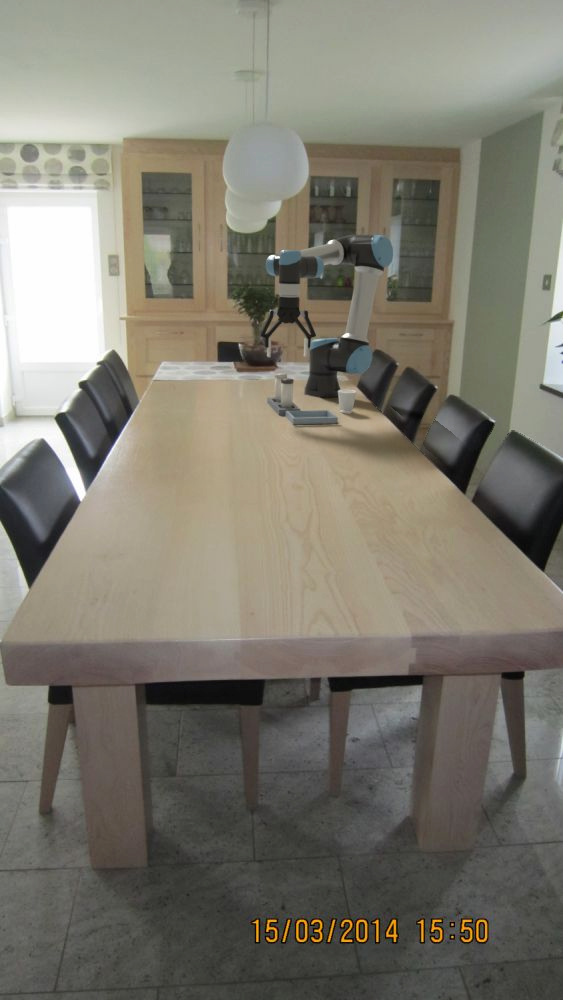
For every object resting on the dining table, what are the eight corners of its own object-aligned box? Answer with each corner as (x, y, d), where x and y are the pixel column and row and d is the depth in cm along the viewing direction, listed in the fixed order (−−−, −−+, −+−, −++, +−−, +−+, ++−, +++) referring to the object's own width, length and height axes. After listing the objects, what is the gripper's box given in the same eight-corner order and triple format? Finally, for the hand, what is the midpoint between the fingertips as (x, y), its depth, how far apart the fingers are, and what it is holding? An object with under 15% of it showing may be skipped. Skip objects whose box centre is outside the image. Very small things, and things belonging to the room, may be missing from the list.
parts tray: (328, 416, 274) (328, 409, 273) (337, 424, 262) (337, 417, 262) (285, 417, 270) (285, 410, 269) (293, 425, 259) (293, 418, 258)
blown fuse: (291, 410, 280) (292, 378, 276) (293, 412, 276) (294, 380, 272) (279, 410, 279) (279, 378, 275) (281, 413, 275) (282, 380, 271)
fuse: (284, 404, 290) (285, 373, 286) (287, 406, 286) (288, 375, 282) (273, 404, 289) (273, 373, 285) (275, 406, 285) (276, 375, 281)
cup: (338, 414, 278) (339, 392, 275) (333, 408, 287) (334, 387, 284) (357, 414, 278) (358, 393, 276) (351, 408, 288) (353, 387, 285)
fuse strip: (287, 403, 294) (287, 397, 293) (300, 416, 273) (300, 409, 272) (267, 404, 292) (267, 397, 291) (278, 416, 272) (279, 409, 271)
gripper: (320, 295, 270) (317, 355, 277) (252, 294, 265) (251, 355, 272) (325, 297, 263) (323, 358, 270) (256, 296, 258) (255, 358, 265)
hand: (287, 356), depth 271 cm, fingers open, 13 cm apart
